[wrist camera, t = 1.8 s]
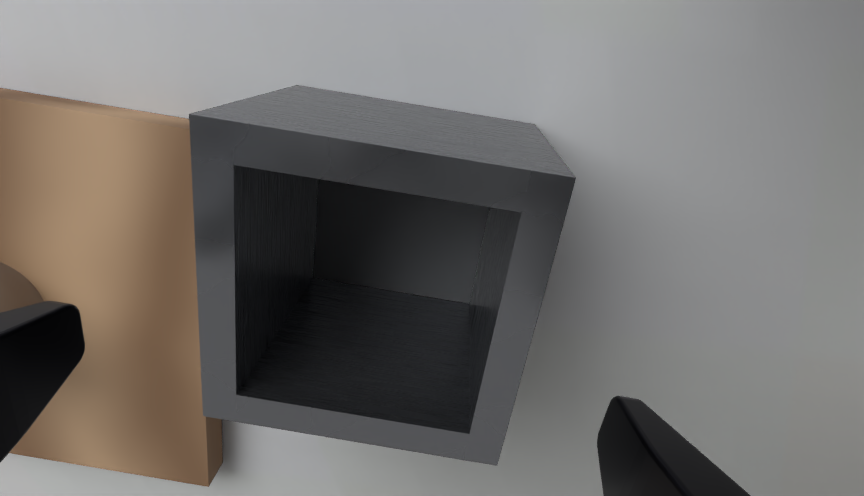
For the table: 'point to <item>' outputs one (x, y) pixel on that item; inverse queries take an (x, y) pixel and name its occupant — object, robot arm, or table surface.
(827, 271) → the table surface
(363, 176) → the duct collar
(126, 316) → the board
